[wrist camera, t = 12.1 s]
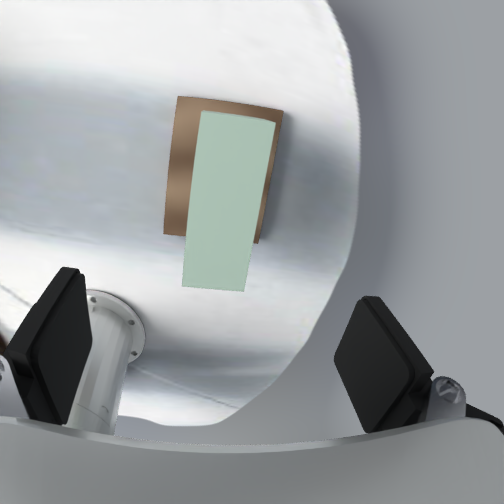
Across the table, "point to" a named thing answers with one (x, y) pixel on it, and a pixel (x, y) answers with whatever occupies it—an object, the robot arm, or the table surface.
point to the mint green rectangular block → (225, 199)
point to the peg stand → (185, 156)
